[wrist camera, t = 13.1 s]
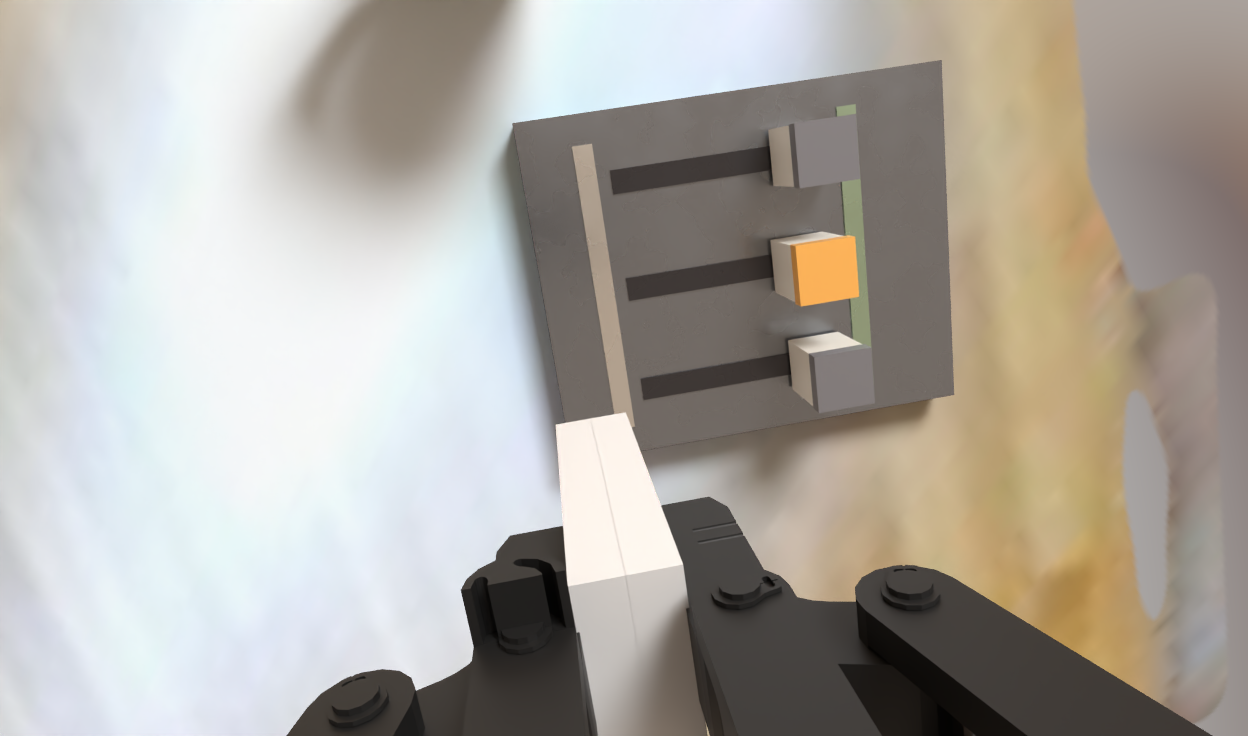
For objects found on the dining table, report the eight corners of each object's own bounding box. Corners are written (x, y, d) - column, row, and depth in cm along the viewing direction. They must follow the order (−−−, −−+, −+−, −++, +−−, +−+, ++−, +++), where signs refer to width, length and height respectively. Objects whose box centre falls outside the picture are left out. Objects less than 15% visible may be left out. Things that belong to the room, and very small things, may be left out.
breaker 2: (791, 390, 42) (819, 413, 38) (786, 339, 41) (814, 357, 37) (842, 381, 42) (875, 403, 38) (838, 330, 42) (871, 347, 37)
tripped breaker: (774, 293, 41) (801, 306, 37) (769, 239, 40) (795, 246, 36) (827, 284, 41) (859, 296, 37) (823, 230, 40) (855, 236, 36)
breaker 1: (772, 187, 39) (799, 188, 35) (767, 128, 39) (794, 123, 34) (827, 178, 39) (860, 178, 35) (822, 120, 39) (855, 113, 35)
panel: (570, 450, 44) (572, 463, 42) (513, 126, 39) (512, 123, 37) (936, 385, 45) (954, 395, 43) (922, 65, 41) (942, 59, 39)
